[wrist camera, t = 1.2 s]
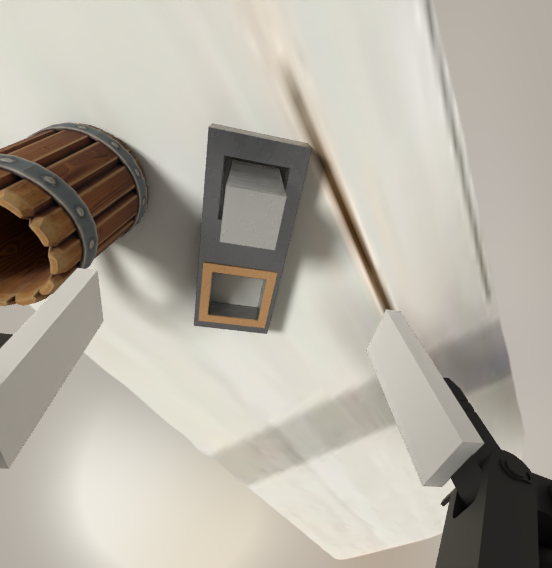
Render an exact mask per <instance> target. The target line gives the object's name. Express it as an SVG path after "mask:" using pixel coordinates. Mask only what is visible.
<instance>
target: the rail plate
mask: <svg viewBox="0 0 552 568" xmlns="http://www.w3.org/2000/svg"><path fill="white" fill-rule="evenodd" d="M311 150H312V148H311V147H310V146H309V144H307V143H303V142H298V141H293V140H288V139H284V138H279V137H274V136H269V135H265V134H260V133H255V132H250V131H245V130H241V129H236V128H231V127H226V126H222V125H217V124H211V125H210V126H209V130H208V144H207V157H206V171H205V184H204V197H203V211H202V224H201V238H200V251H199V264H198V278H197V291H196V304H195V318H194V326H202V327H211V328H220V329H229V330H238V331H247V332H256V333H265V334H267V332H268V328H269V324H270V320H271V316H272V311H273V307H274V303H275V299H276V295H277V291H278V287H279V282H280V278H281V274H282V270H283V266H284V262H285V258H286V253H287V249H288V245H289V241H290V237H291V233H292V229H293V224H294V220H295V216H296V212H297V208H298V204H299V200H300V196H301V191H302V187H303V183H304V179H305V175H306V171H307V167H308V162H309V158H310V154H311ZM226 156H230V157H235V158H240V159H246V160H251V161H256V162H261V163H266V164H271V165H276V166H281V167H286V168H287V170H286V174H285V179H284V184H283V186H284V189H285V193H286V202H285V206H284V211H283V215H282V220H281V224H280V229H279V234H278V238H277V243H276V247H275V250H269V249H263V248H256V247H250V246H243V245H237V244H231V243H224V242H220V234H221V225H222V217H223V211H221V210H220V206H221V196H222V187H223V177H224V168H225V158H226ZM213 272H216V273H223V274H231V275H238V276H245V277H252V278H260V279H264V280H263V285H262V290H261V294H260V299H259V304H258V308H257V307H249V306H241V305H233V304H224V303H216V302H210V300H211V291H212V281H213Z"/></svg>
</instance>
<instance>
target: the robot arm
mask: <svg viewBox="0 0 552 568" xmlns="http://www.w3.org/2000/svg"><path fill="white" fill-rule="evenodd" d="M102 322H103V314H102V305H101V297H100V288H99V280H98V272H97V270H90V269H82V268H77V269H76V270H75V271H74V272H73V273H72V274H71V275H70V276H69V278H68V279H67V280H66V281H65V282H64V283H63V284H62V285H61V286H60V287H59V288H58V289H57V290H56V291H55V292H54V293H53V294H52V295H51V296H50V297H49V298H48V299H47V300H46V301H45V302H44V304H43V305H42V306H41V307H40V308H39V309H38V310H37V311H36V312H35V313H34V314H33V315H32V316H31V317H30V318H29V319H28V320H27V321H26V322H25V323H24V324H23V325H22V327H20V328H19V329H18V331H17V332H16V333H15V334H14V335H12V334H2V333H0V468H10V466H11V464H12V463H13V461H14V460H15V458H16V457H17V455H18V453H19V452H20V450H21V449H22V447H23V446H24V444H25V443H26V441H27V439H28V438H29V436H30V435H31V433H32V432H33V430H34V428H35V427H36V425H37V424H38V422H39V421H40V419H41V418H42V416H43V414H44V413H45V411H46V410H47V408H48V407H49V405H50V403H51V402H52V400H53V399H54V397H55V396H56V394H57V393H58V391H59V389H60V388H61V386H62V385H63V383H64V382H65V380H66V378H67V377H68V375H69V373H70V372H71V371H72V369H73V367H74V366H75V364H76V363H77V361H78V360H79V358H80V357H81V355H82V353H83V352H84V350H85V349H86V347H87V346H88V344H89V343H90V341H91V339H92V338H93V336H94V335H95V333H96V332H97V330H98V329H99V327H100V325H101V324H102ZM366 351H367V353H368V356H369V358H370V360H371V363H372V365H373V368H374V370H375V372H376V375H377V377H378V380H379V382H380V385H381V387H382V389H383V392H384V394H385V397H386V399H387V401H388V404H389V406H390V409H391V411H392V414H393V416H394V418H395V421H396V423H397V426H398V428H399V430H400V433H401V435H402V438H403V440H404V443H405V445H406V447H407V450H408V452H409V455H410V457H411V459H412V462H413V464H414V467H415V469H416V471H417V474H418V476H419V479H420V481H421V484H422V486H433V487H442V486H443V485H444V484H445V483H446V482H447V481H448V480H449V479H450V478H451V479H452V481H453V483H454V485H455V487H456V488H455V489H454V490H453V491H452V492H451V493H450V494H448V495H447V496H446V497H445V498H444V499H443V501H442V503H441V505H442V506H445V505H446V504H447V503H448V502H449V506H448V511H447V516H446V520H445V525H444V530H443V534H442V539H441V544H440V548H439V553H438V558H437V562H436V567H435V568H552V480H550V479H547V478H544V477H542V476H539V475H537V474H534V473H531V471H530V469H529V468H528V467H527V466H526V465H525V464H524V463H523V462H522V461H521V460H520V459H519V458H517V457H516V456H515V455H513V454H511V453H509V452H507V451H505V450H501V449H500V448H499V446H498V445H497V443H496V442H495V440H494V439H493V437H492V436H491V434H490V433H489V431H488V430H487V428H486V427H485V425H484V424H483V422H482V421H481V419H480V418H479V416H478V415H477V413H476V412H474V409H473V407H472V406H471V404H470V403H468V400H467V398H466V397H465V395H464V394H463V392H462V391H461V389H460V388H459V387H458V386H457V385H456V384H455V383H453V382H452V381H451V380H450V379H449V378H443V377H442V376H441V374H440V373H439V371H438V369H437V368H436V366H435V365H434V363H433V361H432V360H431V358H430V357H429V355H428V354H427V352H426V350H425V349H424V347H423V346H422V344H421V343H420V341H419V339H418V338H417V336H416V335H415V333H414V332H413V330H412V328H411V327H410V325H409V324H408V322H407V321H406V319H405V317H404V316H403V314H402V313H401V311H394V310H386V311H385V313H384V315H383V317H382V319H381V321H380V323H379V325H378V327H377V329H376V331H375V334H374V336H373V338H372V340H371V342H370V344H369V346H368V348H367V350H366Z"/></svg>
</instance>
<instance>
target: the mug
mask: <svg viewBox="0 0 552 568" xmlns="http://www.w3.org/2000/svg"><path fill="white" fill-rule="evenodd" d="M145 179H146V176H145V174H144V171H143V169H142V167H141V165H140V163H139V162H138V160H137V159H136V158H135V157H133V156H132V155H131V151H130V150H129V149H128V148H127V147H126V146H125V145H124V144H123V143H122V142H121V141H120V140H118V139H117V138H116V137H114V136H113V135H107V134H106V133H105V132H104V131H103V130H102V129H99V128H97V127H94V126H91V125H86V124H80V123H79V124H76V123H62V124H56V125H52V126H49V127H46V128H44V129H42V130H40V131H38V132H36V133H34V134H32V135H30V136H29V137H28V138H26V139H24V140H22V141H19V142H17V143H14V144H12V145H9V146H7V147H4V148H2V149H0V306H6V305H12V304H16V303H17V304H19V305H29V304H32V303H36V302H39V301H41V300H43V299H46V298H47V297H48V296H49V295H51V294H53V293H54V292H55V291H56V290H57V289H58V288H59V287H60V286H61V285H62V284H63V283H64V282H65V281H66V280H67V279H68V278H69V276H70V275H71V274H72V273H73V272H74V271H75V270H76V269H77V268H82V269H87V268H88V267H89V266H90V265H91V263H92V261H93V259H94V258H96V257H97V256H98V255H99V254H100V253H101V252H103V251H104V250H105V249H106V248H107V247H108V246H110V245H111V244H112V243H113V242H114V241H115V240H117V239H118V238H120V237H123V236H124V235H125V234H126V233H127V232H128V231H130V230H131V229H132V228H133V227H134V226H135V225H136V224H138V223H139V221H140V219H141V218H142V216H143V214H144V212H145V208H146V205H147V202H148V186H147V185H146V183H145Z"/></svg>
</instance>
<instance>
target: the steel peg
mask: <svg viewBox="0 0 552 568" xmlns="http://www.w3.org/2000/svg"><path fill="white" fill-rule="evenodd" d="M285 202H286V193H285V189H284V186H283V182H282V178H281V174H280V171H279V169H278V168H273V167H268V166H263V165H258V164H253V163H248V162H242V161H237V160H233V163H232V166H231V170H230V173H229V177H228V180H227V184H226V190H225V199H224V208H223V217H222V225H221V234H220V242H224V243H231V244H237V245H243V246H250V247H256V248H263V249H269V250H275V247H276V243H277V238H278V234H279V229H280V224H281V220H282V215H283V211H284V206H285Z"/></svg>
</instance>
